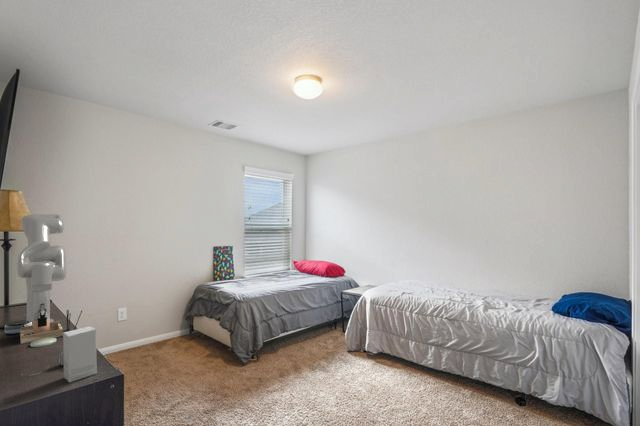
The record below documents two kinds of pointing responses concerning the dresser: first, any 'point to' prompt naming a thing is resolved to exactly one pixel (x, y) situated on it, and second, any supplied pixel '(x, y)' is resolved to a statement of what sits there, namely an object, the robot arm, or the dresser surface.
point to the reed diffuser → (61, 358)
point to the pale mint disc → (43, 342)
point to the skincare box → (79, 353)
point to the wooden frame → (51, 334)
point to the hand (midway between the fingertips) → (41, 324)
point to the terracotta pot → (40, 329)
